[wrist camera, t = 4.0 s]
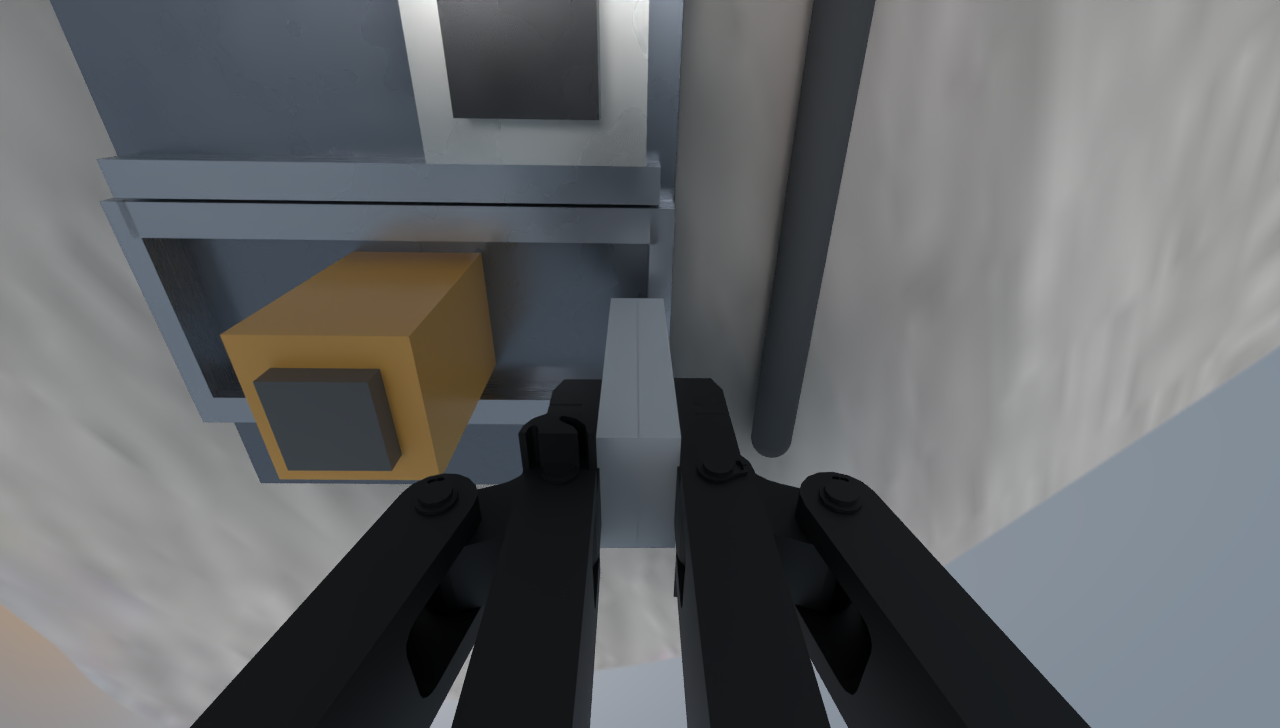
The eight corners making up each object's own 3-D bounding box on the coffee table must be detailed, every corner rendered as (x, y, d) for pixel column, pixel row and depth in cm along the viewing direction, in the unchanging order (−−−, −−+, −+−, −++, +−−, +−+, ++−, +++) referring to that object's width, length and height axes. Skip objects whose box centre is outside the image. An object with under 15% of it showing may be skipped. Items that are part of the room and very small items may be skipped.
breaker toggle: (352, 251, 16) (199, 347, 11) (481, 252, 16) (397, 349, 11) (381, 363, 18) (264, 496, 13) (496, 364, 18) (432, 497, 13)
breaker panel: (62, -136, 13) (-662, -402, 6) (683, -123, 14) (741, -362, 6) (289, 451, 23) (117, 639, 15) (659, 453, 23) (671, 639, 15)
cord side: (819, -85, 14) (839, -102, 13) (878, -84, 14) (905, -101, 13) (745, 441, 23) (753, 465, 21) (782, 441, 23) (792, 465, 21)
